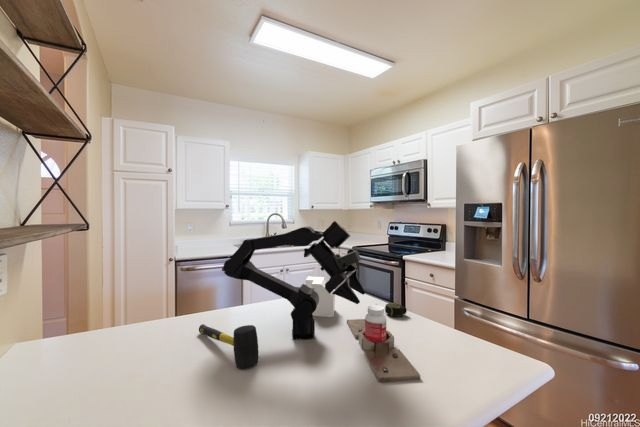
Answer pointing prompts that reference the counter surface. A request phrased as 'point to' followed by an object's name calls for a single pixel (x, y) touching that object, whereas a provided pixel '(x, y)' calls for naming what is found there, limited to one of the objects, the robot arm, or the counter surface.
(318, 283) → the white block
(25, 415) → the counter surface
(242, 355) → the mallet
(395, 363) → the brown mounting plate
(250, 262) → the robot arm
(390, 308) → the tape measure
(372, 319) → the pill bottle
